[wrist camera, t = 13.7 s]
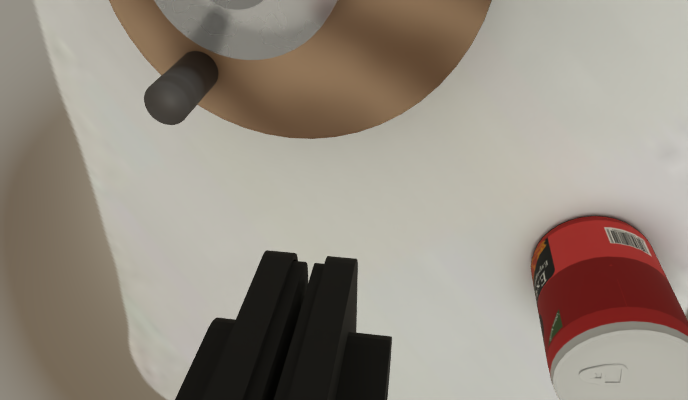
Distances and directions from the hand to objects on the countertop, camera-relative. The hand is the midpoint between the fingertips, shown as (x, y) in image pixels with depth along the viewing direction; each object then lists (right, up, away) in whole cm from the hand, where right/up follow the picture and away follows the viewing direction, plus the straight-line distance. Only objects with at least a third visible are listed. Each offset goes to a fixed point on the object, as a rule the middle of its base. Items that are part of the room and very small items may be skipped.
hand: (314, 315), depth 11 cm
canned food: (+18, -2, +31) cm, 36 cm away
